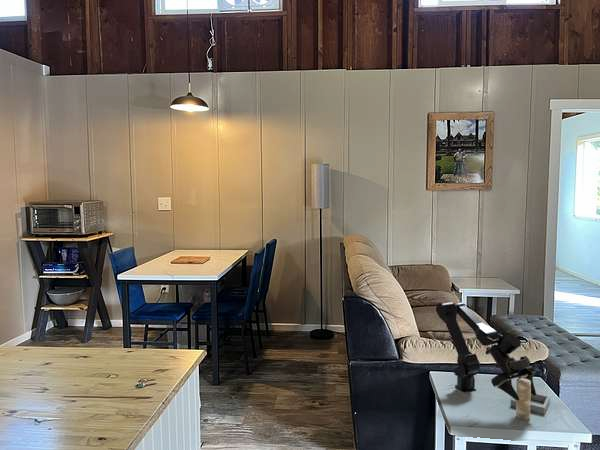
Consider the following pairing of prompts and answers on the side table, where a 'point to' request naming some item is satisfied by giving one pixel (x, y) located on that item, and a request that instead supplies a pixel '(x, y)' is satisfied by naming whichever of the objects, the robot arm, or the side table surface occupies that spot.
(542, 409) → the tray
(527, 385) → the tan wooden tall block
